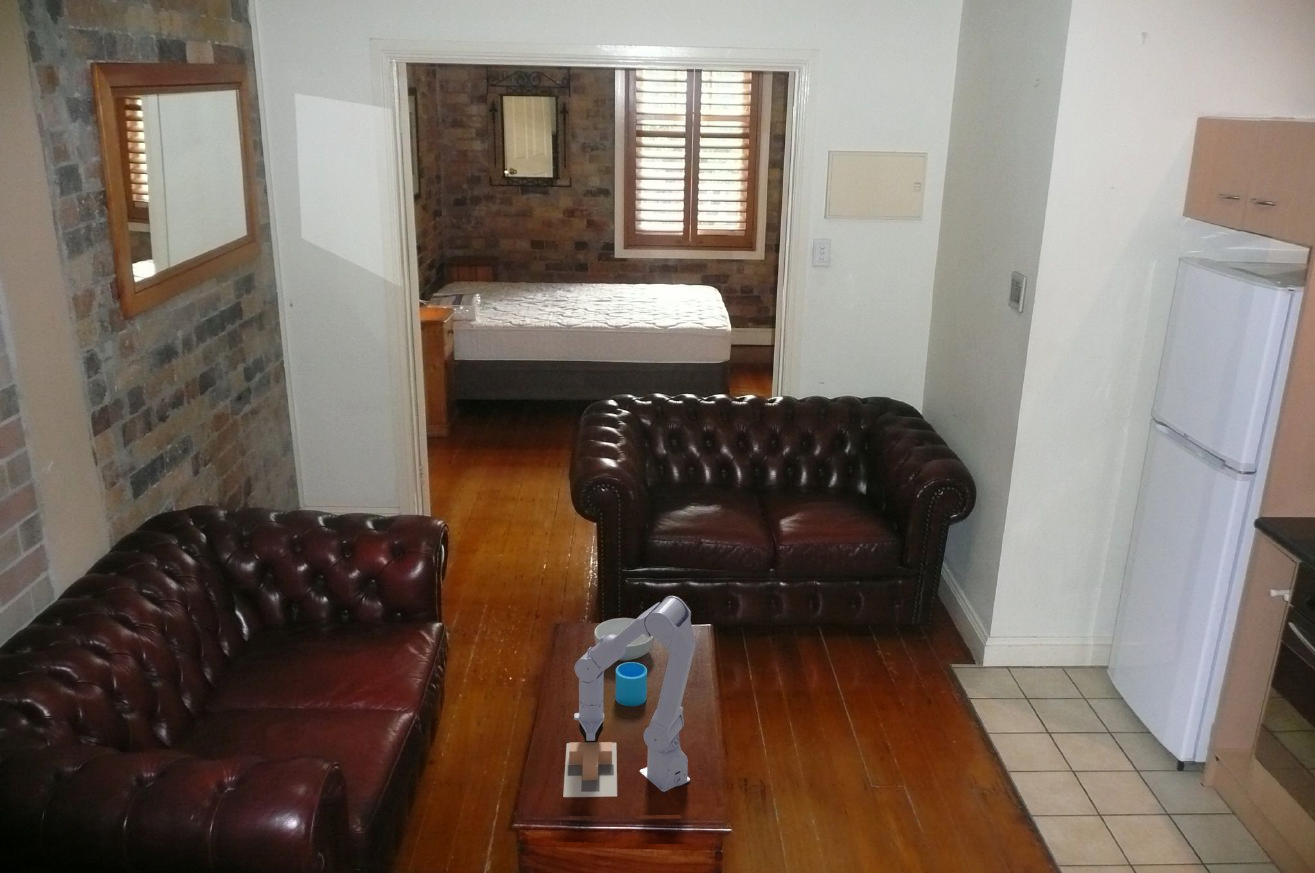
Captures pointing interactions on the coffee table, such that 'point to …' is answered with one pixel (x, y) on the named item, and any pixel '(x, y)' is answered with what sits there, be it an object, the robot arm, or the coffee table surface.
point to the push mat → (591, 788)
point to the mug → (631, 684)
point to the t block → (590, 756)
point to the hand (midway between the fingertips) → (591, 748)
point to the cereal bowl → (616, 627)
